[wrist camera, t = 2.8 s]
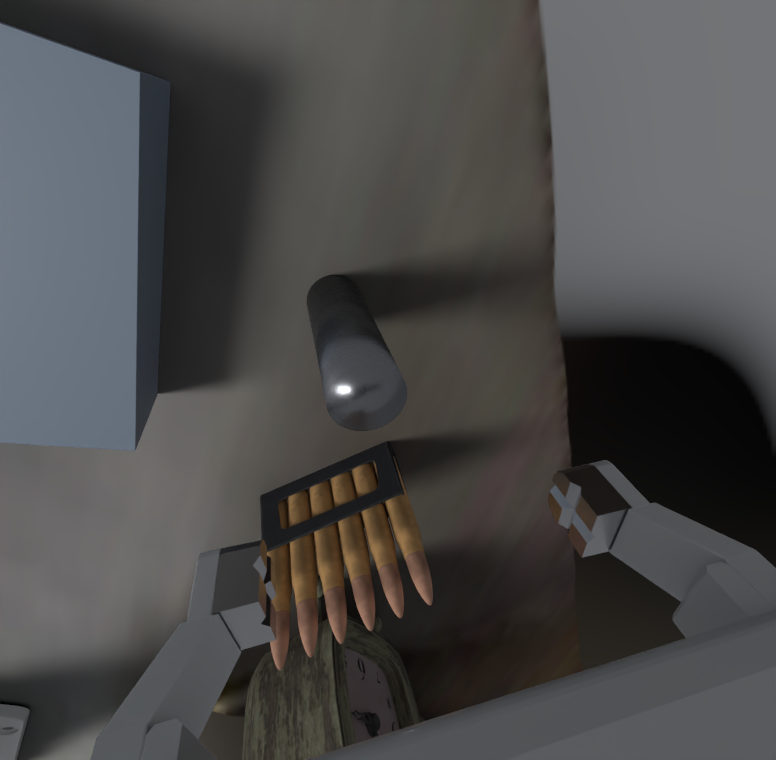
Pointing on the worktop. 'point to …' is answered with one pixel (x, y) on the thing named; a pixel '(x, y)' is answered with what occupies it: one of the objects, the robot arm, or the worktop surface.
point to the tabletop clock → (327, 694)
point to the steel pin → (353, 357)
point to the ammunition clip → (321, 532)
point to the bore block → (79, 244)
